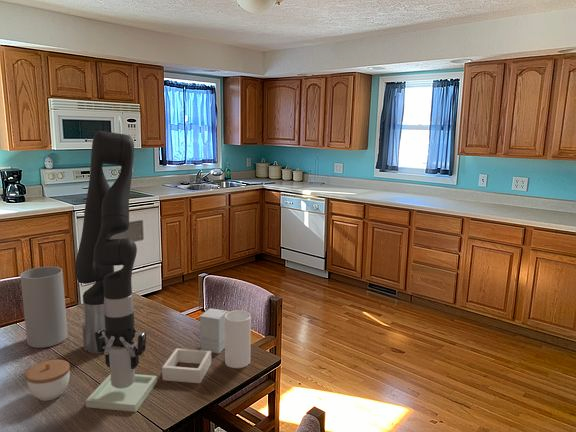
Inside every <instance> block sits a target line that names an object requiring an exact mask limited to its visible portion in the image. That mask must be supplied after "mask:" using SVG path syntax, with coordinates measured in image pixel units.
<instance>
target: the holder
mask: <svg viewBox="0 0 576 432" xmlns="http://www.w3.org/2000/svg"><path fill="white" fill-rule="evenodd" d="M178 363H185V364H186V363H189V364H197V365H198V364H199V366H198V367H197V368H196V367H184V366H177V365H178ZM211 364H212V352H211V351H205V350H201V349H191V348H175V349H174V350H173V352H172V353H171V354H170V356H169V357H168V359H166V362H164V364H163V365H162V367H161V371H162V374H161V375H162V381H168V382H169V381H170V382H181V383H193V384H201V382H202V381H203V379H204V377H205V375H206V373H207V372H208V370H209V368H210V366H211Z"/></svg>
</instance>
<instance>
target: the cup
mask: <svg viewBox="0 0 576 432" xmlns="http://www.w3.org/2000/svg"><path fill="white" fill-rule="evenodd" d="M251 316H252V315H251V314H250V312H249V311H246V310H240V309H239V310H238V309H237V310H231V311H228V313H227V314H226V315H225V348H224V363H225V365H226V366H227V367H228V368H231V369H241V368H245V367H248V366H249V365H250V363H251V339H252V338H251V334H252V333H251V329H252V328H251V326H252V325H251V321H252V320H251V318H252V317H251ZM248 364H249V365H248Z"/></svg>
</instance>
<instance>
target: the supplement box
mask: <svg viewBox="0 0 576 432" xmlns="http://www.w3.org/2000/svg"><path fill="white" fill-rule="evenodd" d="M228 312H229V311H228V310H223V309H218V308H217V309H216V308H208V309H207V310H205V312H203V313H202V314H200V315H199V332H200V333H199V335H200V336H199V337H200V339H199V340H200V341H199V342H200V350H205V351H211V353H213V354H214V353H215V354H220V353H222V352H223V350H225V315H226V314H227V313H228Z"/></svg>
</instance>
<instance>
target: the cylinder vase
mask: <svg viewBox="0 0 576 432" xmlns="http://www.w3.org/2000/svg"><path fill="white" fill-rule="evenodd" d="M19 276H20V284H21V285H20V286H21V294H22V297H21V298H22V306H23V314H24V317H23V318H24V325H25V334H26V343H27V345H28V346H29V347H32V348H34V349H44V348H51V347H53V346H56V345H59V344H61V343H63V342H64V341H66V339H67V338H68V335H69V334H68V333H69V332H68V322H67V311H66V299H65V285H64V272H63V268H61V267H58V266H41V267H35V268H34V267H33V268H31V269H30V268H29V269H27V270H25V271H23V272H21V273H20V274H19Z"/></svg>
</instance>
